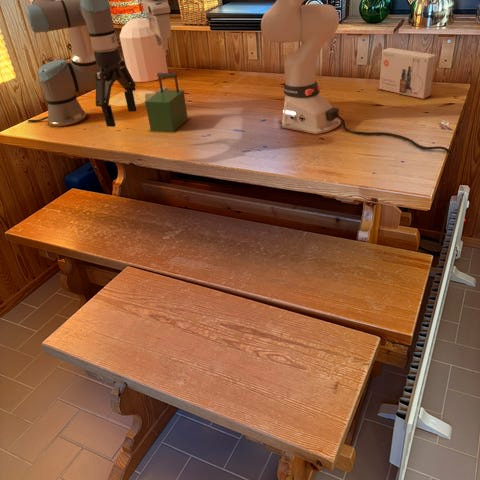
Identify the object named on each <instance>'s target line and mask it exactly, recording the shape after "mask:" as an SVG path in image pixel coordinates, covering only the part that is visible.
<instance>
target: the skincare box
mask: <svg viewBox="0 0 480 480" xmlns="http://www.w3.org/2000/svg"><path fill="white" fill-rule="evenodd" d="M436 57H437V54H435V53H427V52H423V51H422V52H420V51H413V50H407V49H400V48H395V47H394V48H393V47H387V48H385V49H382V50H381V61H380V74H379V86H378V87H379V88H378V89H379V90H383V91H387V92H391V93H395V94H399V95H405V96H409V97H414V98H418V99H422V100H424V99H426V98H428V97H430V96H431V91H432V86H433V85H432V84H433V78H434V73H435V72H434V71H435V70H434V69H435V64H436Z"/></svg>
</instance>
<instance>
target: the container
mask: <svg viewBox="0 0 480 480" xmlns="http://www.w3.org/2000/svg"><path fill="white" fill-rule="evenodd" d="M119 41H120V45H121V49H122V54H123V59H124V61H125V64H126V67H127V69H128V71H129V73H130V75H131V77H132V79H133V80H134V82H135V83H144V82H152V81H157V80H158V81H159V78H158V77H157V73H169V68H168V64H167V57H166V50H163V48H162V45H160V46H159V45H157V41H156V38H155V34H154V32H153V31H151V29H150V25H149V19H148V18H144V17H136V18H132V19H129V20H128V21H127V22H126V23H125V24H124V25H123V26H122V28H121V31H120V33H119ZM163 78H165V77H161V79H163Z"/></svg>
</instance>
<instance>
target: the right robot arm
mask: <svg viewBox="0 0 480 480" xmlns="http://www.w3.org/2000/svg"><path fill="white" fill-rule="evenodd" d="M305 1H306V0H276V1H275V2H274V3H273V5H271V7H270V8H268V9H267V10H266V11H265V13H264V14H263V16H262V18H261V22H260V30H261V34H262V36H263V37H264V38H265V40H266V41H267V42H271V43H279V44H284V43H297V42H301V45H300V46H299V48H298V49H296V50H294V51H293V52H291V53H290V54H288V56H287V57H286V58H285V60H284V62H283V67H284V68H283V70H284V82H283V89H282V90H283V94H284V103H283V110H282V116H281V120H280V121H281V128H282V129H288V130H292V131H298V132H303V133H309V134H313V135H314V134H315V135H319V134H324V133H328V132H331V131H332V130H335V129H337V128H338V127H339V126H340V125H341V124H342V127H343V130H344V131H345V132H348V133H352V134H354V135H356V134H357V135H358V134H359V135H383V136H384V135H385V136H392V137H396V138H399V139H402V140H405V141H408V142H410V143H411V144H413V145H414V146H416V147H417V148H420V149H423V150H443V151H446V152H447V153H448V154H452V151H451V150H450V149H448V147H444V146H441V145H440V146H439V145H438V146H424V145H420V144H418V143H417V142H416V141H414V140H412V139H411V138H409V137H406V136H404V135H400V134H397V133H392V132H384V131H383V132H381V131H376V132H375V131H374V132H371V131H370V132H369V131H353V130H349V129H348V128H347V127H346V122H345V120H344V118H342V116H340V115H339V111H340V110H339V109H340V108H338V107H334V106H333V105H332V104H331V103H330V102H329V101H328V100H327V99H326V98H325V97H324V96H323V95H322V94H321V93H320V90H321V89H322V86H323V85H322V84H320V85H319V84H318V81H317V64H318V58H319V54H320V53H321V50H322V48H323V47H324V45H325V44H326V43H327V41H328V40H330V39H331V38H332V37H333V36H334V35H335V34H336V32H337V30H338V28H339V26H340V25H339V24H340V17H339V12H338V10H337V9H336V7H335V6H334V5H333V4H325V3H312V4H311V3H310V4H303V3H304V2H305ZM141 3H142V9H143V13H145V14H147V19H148V20H149V25H150V29H151V31H153V32H154V34H155V38H156V41H157V45H159V46H160V45H162V48H163V50H164V51H169V39H168V38H171V36H172V28H171V27H172V26H171V17H170V13H171V6H170V5H169V1H168V0H141ZM450 205H451V200H448V201H447V204H446V208H445V212H444V218H443V222H442V226H441V230H440V235H439V240H438V244H437V250H436V252H437V253H439V252H440V250H441V246H442V245H441V244H442V240H443V235H444V231H445V227H446V222H447V218H448V213H449V209H450Z"/></svg>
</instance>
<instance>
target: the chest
mask: <svg viewBox="0 0 480 480" xmlns="http://www.w3.org/2000/svg"><path fill="white" fill-rule="evenodd" d="M145 109H146V113H147V118H148V124H149V129H150V131H151V132H169V133H174V132H175V131H176V130H177V129H179V128H180V127H181V126H182V125H183V124H184V123H185V122H187V121H188V119H189V117H188V111H187V104H186V98H185V93H184V94H182V95H181V96H180V97H178V98H177V99H176V100H175V101H173V102H172V103H171V104H169V105H158V104H145Z"/></svg>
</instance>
